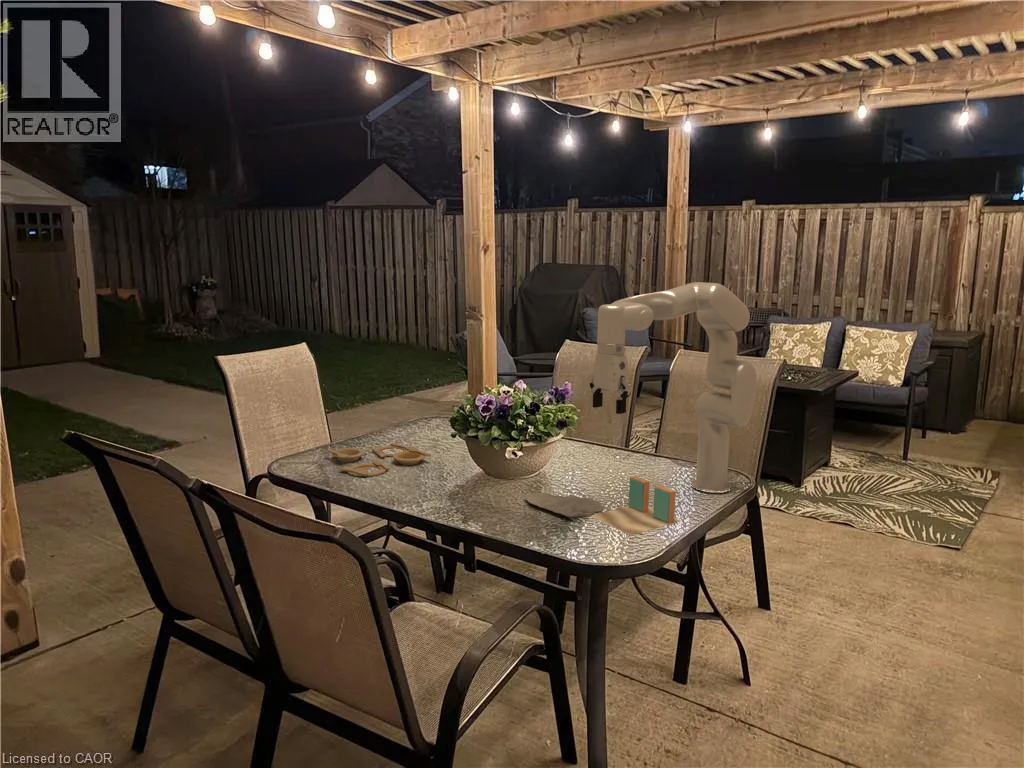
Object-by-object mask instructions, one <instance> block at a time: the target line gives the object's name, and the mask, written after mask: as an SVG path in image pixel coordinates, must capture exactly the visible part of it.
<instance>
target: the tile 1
mask: <svg viewBox="0 0 1024 768" xmlns="http://www.w3.org/2000/svg"><path fill="white" fill-rule="evenodd" d="M650 483H651V482H650V481H649V480H646V479H644V478H642V477H638V476H636V475H634V476H629V489H628V490H629V491H628V506H629V507H631V508H633V509H636V510H638V511H641V512H643V513H644V512H647V511H648V507H649V503H650V502H649V501H650Z"/></svg>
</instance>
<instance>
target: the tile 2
mask: <svg viewBox="0 0 1024 768" xmlns="http://www.w3.org/2000/svg"><path fill="white" fill-rule="evenodd" d="M653 493H654V494H653V495H654V496H653V497H654V498H653V509H654V512H653V517H655V518H657V519H659V520H662V521H664V522H667V523H672V522H674V518H675V512H676V511H675V507H676V490H673V489H671V488H669V487H666V486H663V485H655V486H654V491H653Z"/></svg>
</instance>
